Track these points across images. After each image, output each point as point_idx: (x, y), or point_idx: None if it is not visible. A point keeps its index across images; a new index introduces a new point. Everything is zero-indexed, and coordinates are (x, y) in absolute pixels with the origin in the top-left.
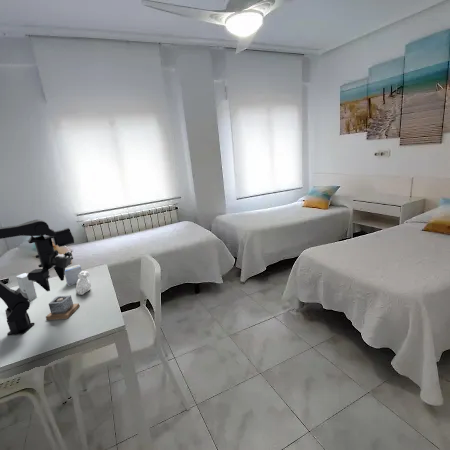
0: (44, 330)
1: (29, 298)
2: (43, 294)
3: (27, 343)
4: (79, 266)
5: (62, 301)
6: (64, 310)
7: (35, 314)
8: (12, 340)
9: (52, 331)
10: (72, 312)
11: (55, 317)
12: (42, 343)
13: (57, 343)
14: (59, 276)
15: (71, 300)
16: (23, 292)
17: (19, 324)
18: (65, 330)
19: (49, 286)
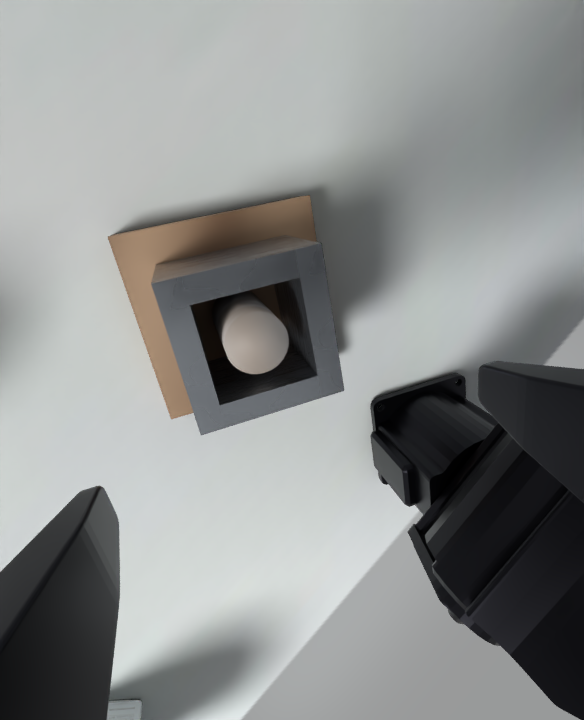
0: (431, 264)
1: (128, 713)
2: None
3: (534, 260)
4: None
5: (293, 271)
6: (294, 237)
7: (274, 500)
8: None
9: (444, 189)
10: (229, 211)
11: None
12: (548, 152)
13: (564, 22)
14: (108, 613)
15: (164, 272)
16: (508, 639)
17: (482, 418)
18: (439, 79)
19: (555, 377)
